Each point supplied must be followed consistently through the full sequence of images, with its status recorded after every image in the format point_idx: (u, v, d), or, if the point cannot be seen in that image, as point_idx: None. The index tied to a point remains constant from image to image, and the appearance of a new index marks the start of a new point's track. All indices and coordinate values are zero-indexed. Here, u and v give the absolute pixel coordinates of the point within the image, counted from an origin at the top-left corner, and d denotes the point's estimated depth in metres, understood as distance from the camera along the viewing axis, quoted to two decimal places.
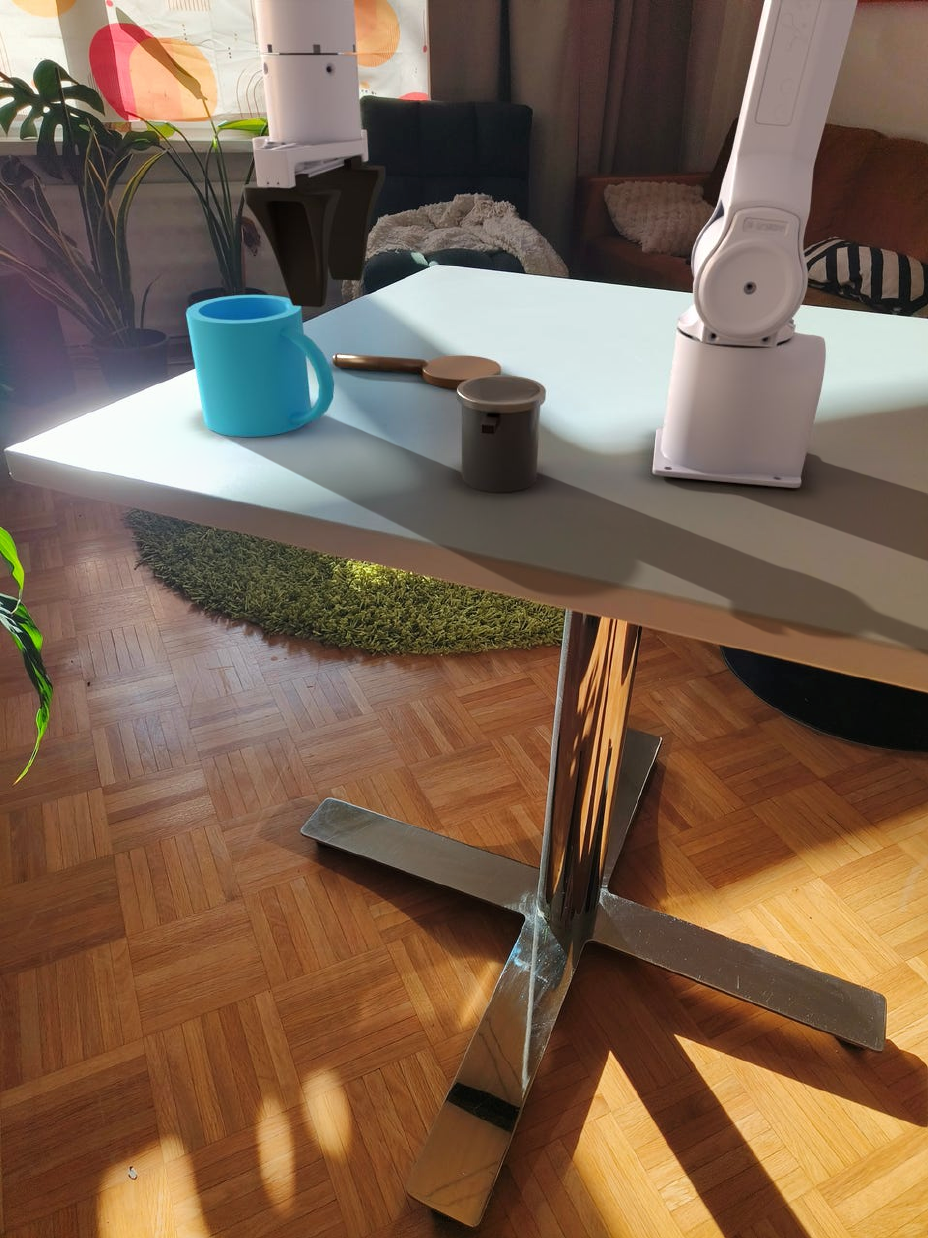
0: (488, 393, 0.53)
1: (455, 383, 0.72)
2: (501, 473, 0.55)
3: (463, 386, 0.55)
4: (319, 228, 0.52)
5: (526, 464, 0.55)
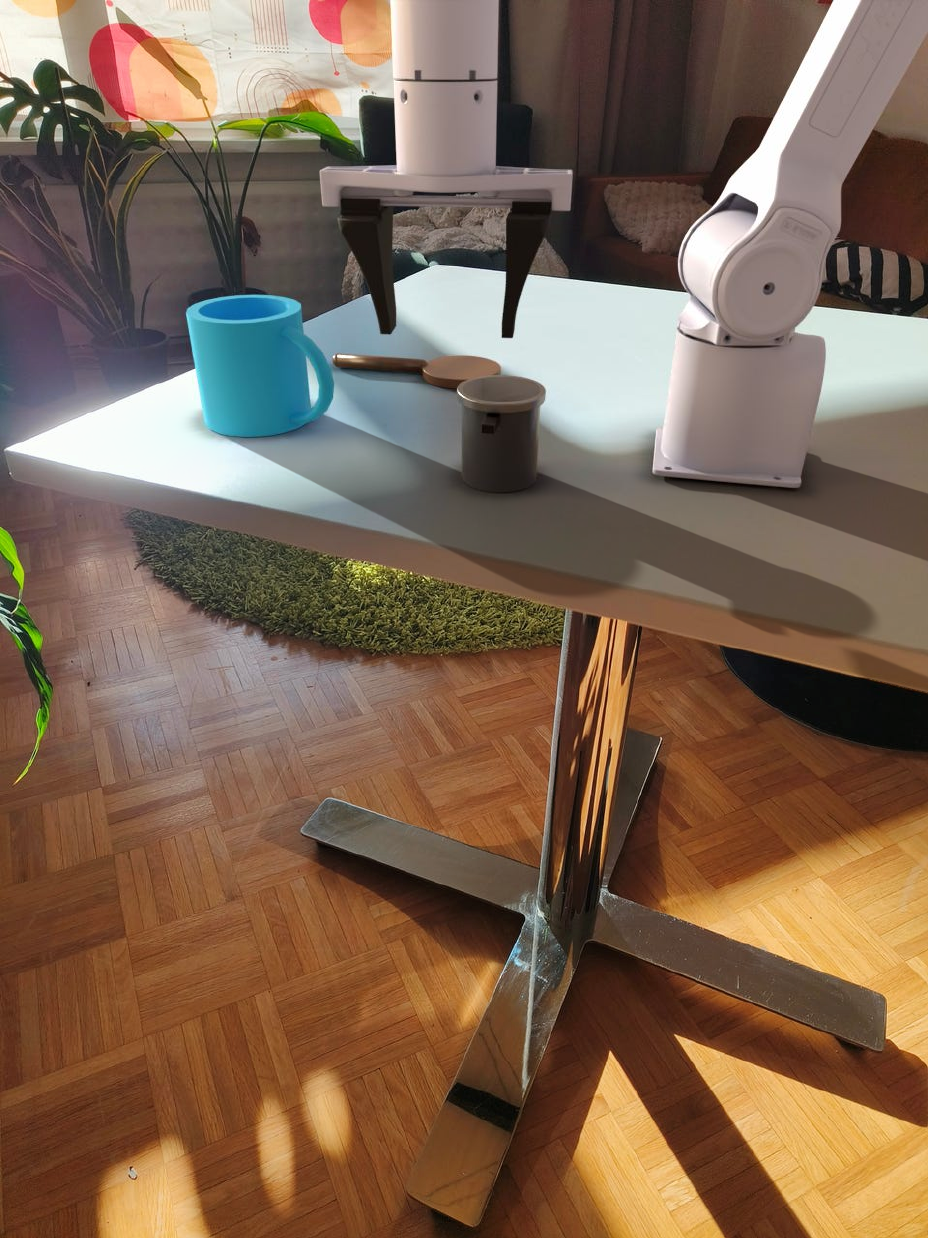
0: (488, 393, 0.53)
1: (455, 383, 0.72)
2: (501, 473, 0.55)
3: (463, 386, 0.55)
4: (353, 253, 0.51)
5: (526, 464, 0.55)
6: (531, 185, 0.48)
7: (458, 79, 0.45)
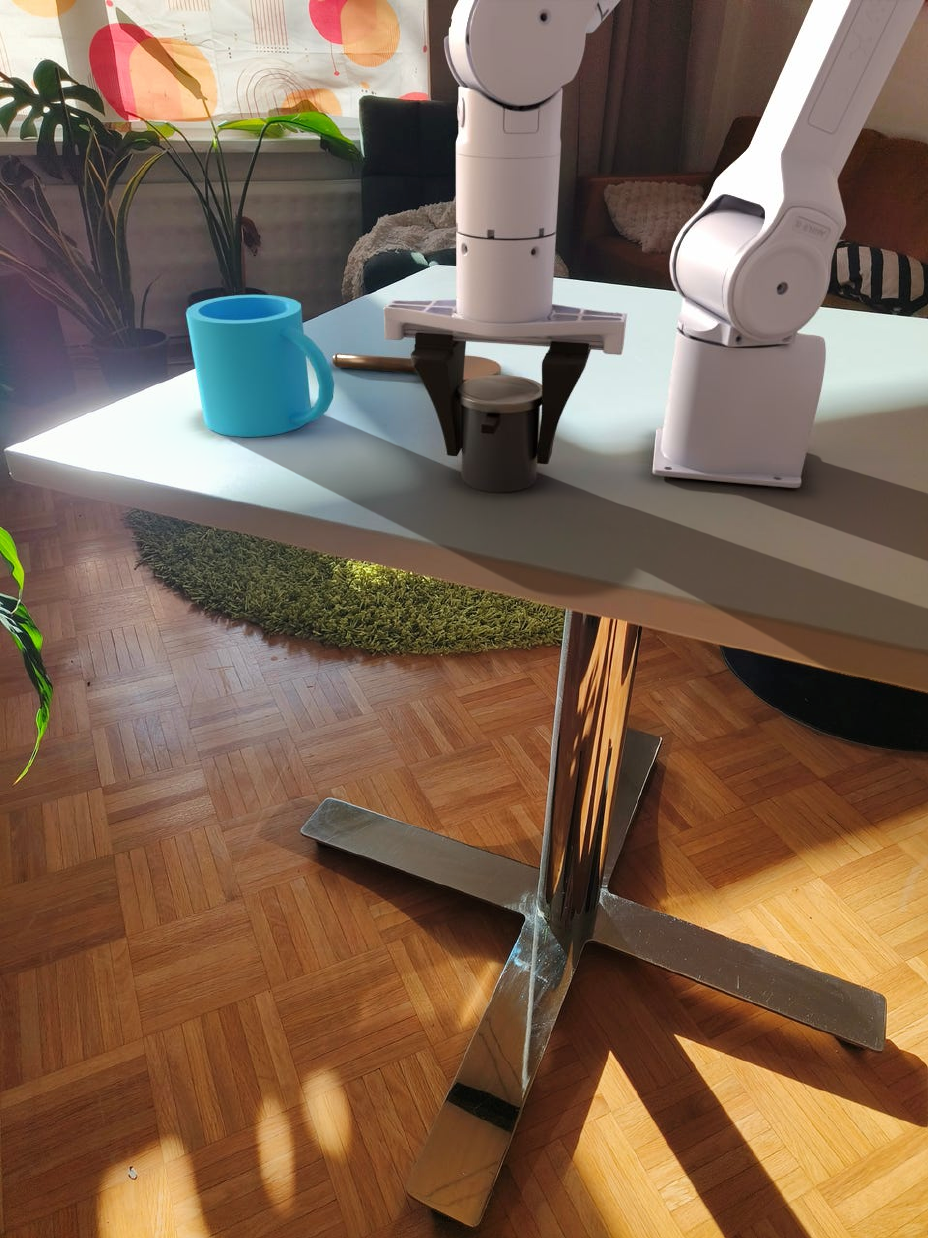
0: (488, 393, 0.53)
1: None
2: (501, 473, 0.55)
3: (463, 386, 0.55)
4: (424, 384, 0.53)
5: (526, 464, 0.55)
6: (584, 331, 0.50)
7: (516, 238, 0.47)
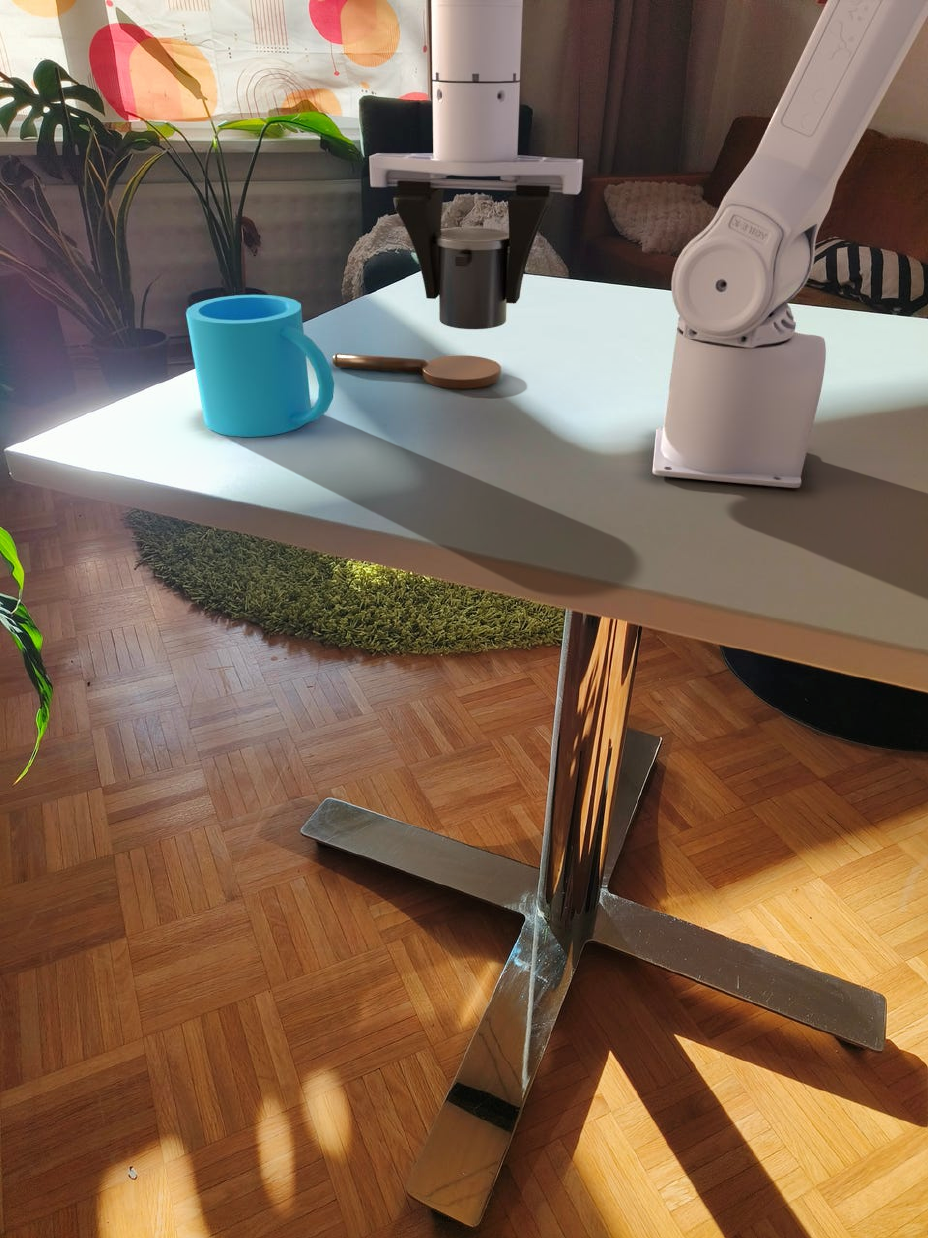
0: (462, 236, 0.60)
1: (455, 383, 0.72)
2: (474, 310, 0.62)
3: (439, 232, 0.61)
4: (405, 227, 0.60)
5: (496, 302, 0.62)
6: (545, 171, 0.57)
7: (483, 81, 0.54)
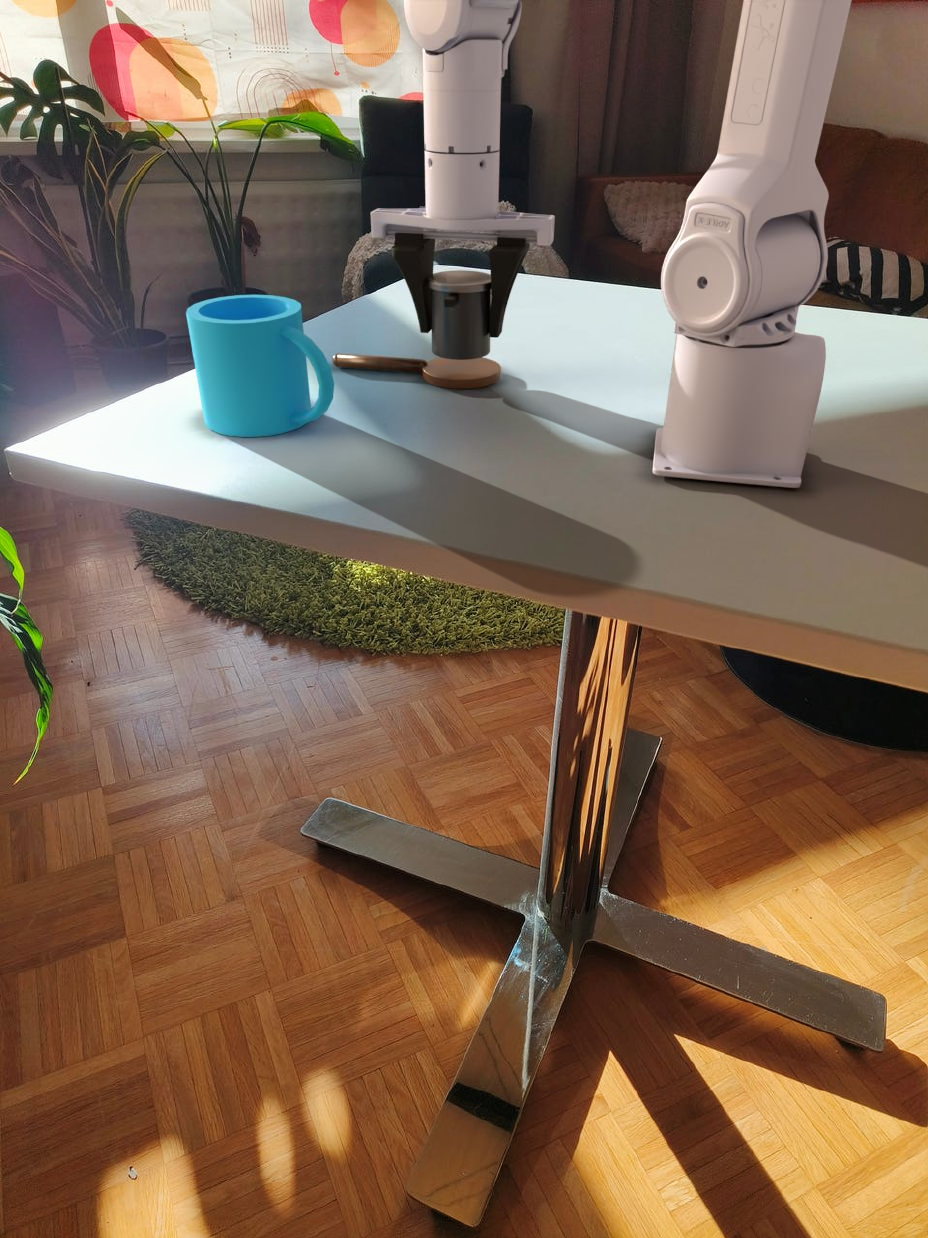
0: (451, 279, 0.70)
1: (455, 383, 0.72)
2: (461, 343, 0.71)
3: (431, 276, 0.71)
4: (402, 272, 0.70)
5: (480, 336, 0.71)
6: (521, 227, 0.66)
7: (467, 152, 0.63)
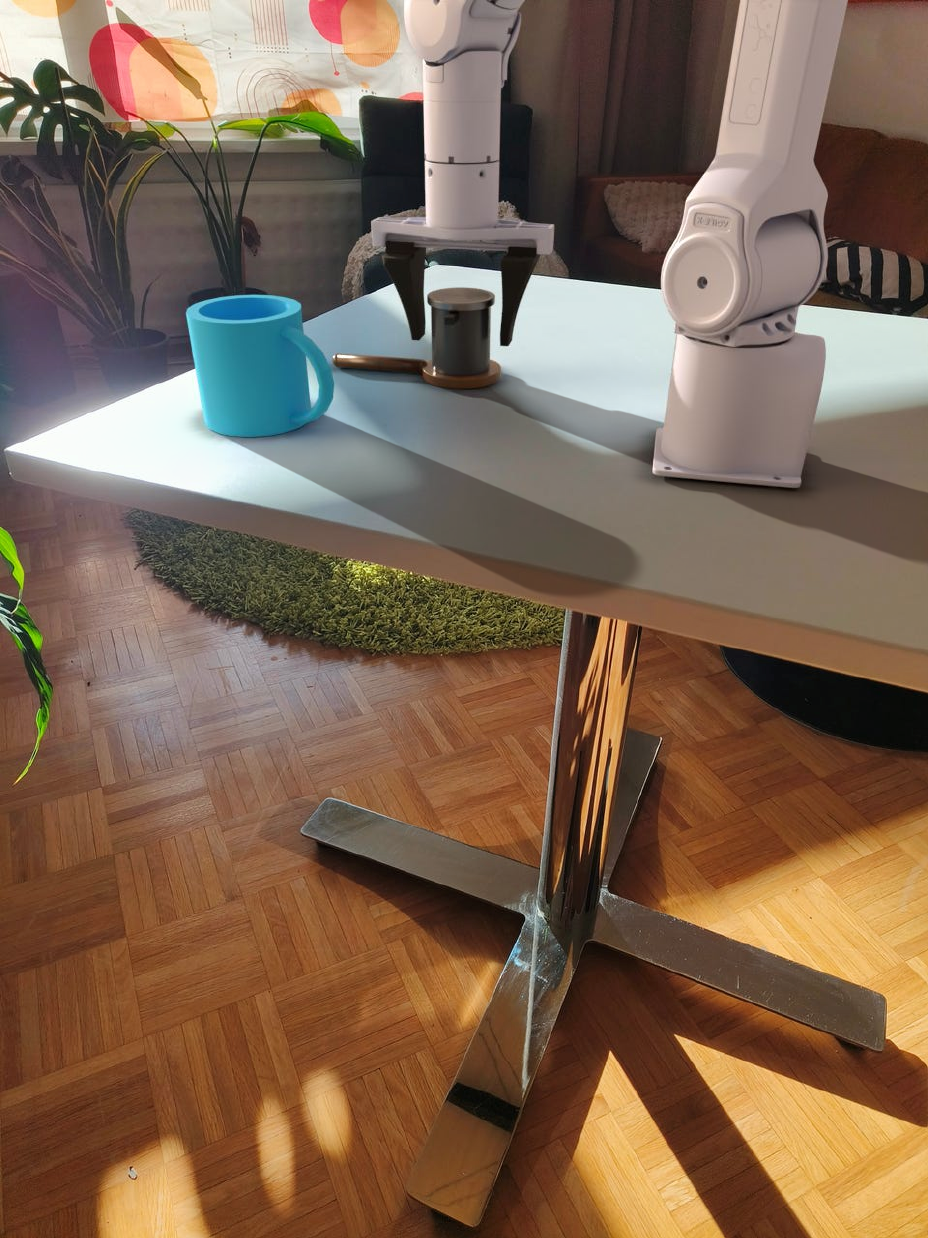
0: (451, 297, 0.70)
1: (455, 383, 0.72)
2: (461, 360, 0.72)
3: (432, 293, 0.72)
4: (393, 281, 0.70)
5: (480, 353, 0.72)
6: (521, 236, 0.66)
7: (467, 162, 0.63)
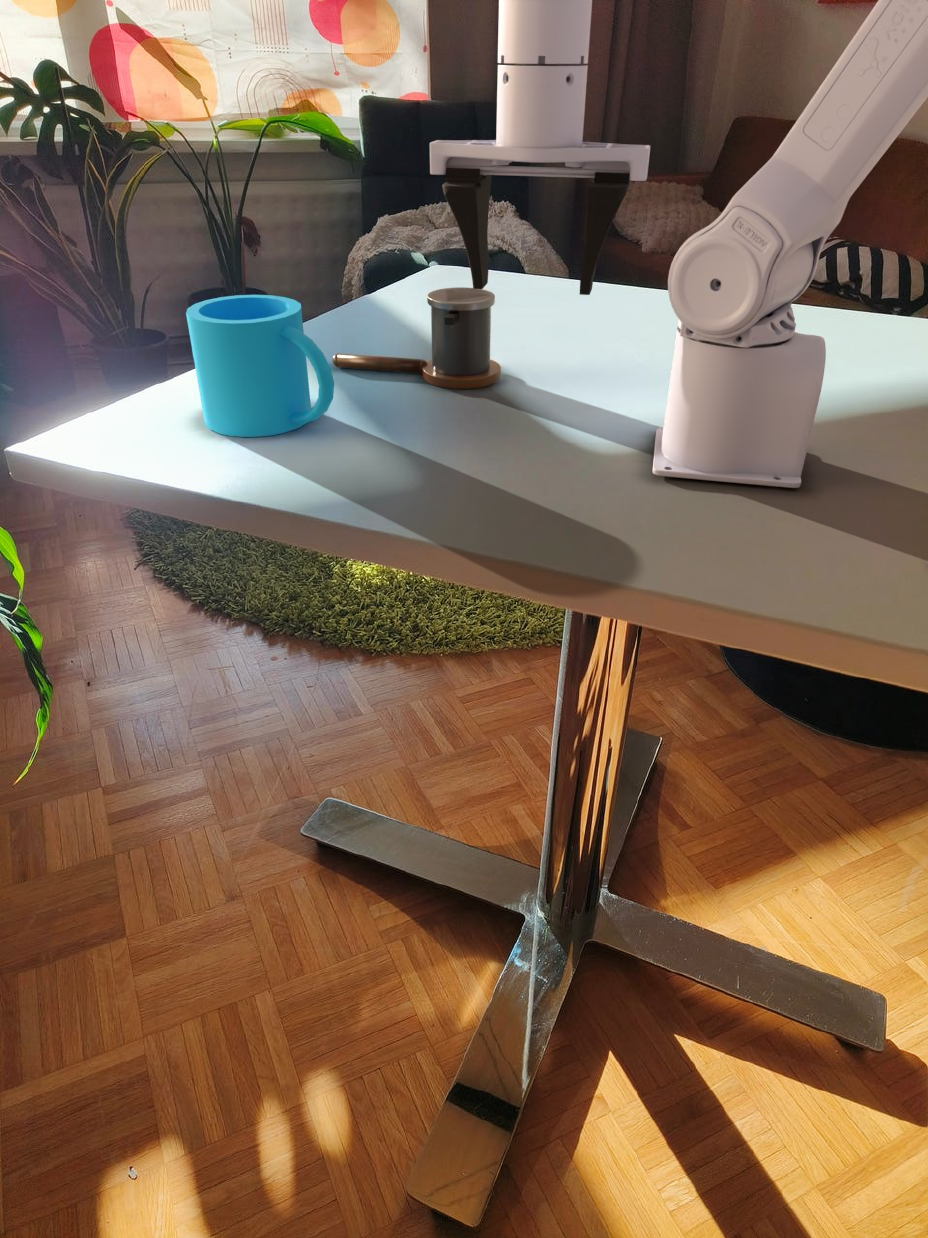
0: (451, 297, 0.70)
1: (455, 383, 0.72)
2: (461, 360, 0.72)
3: (432, 293, 0.72)
4: (454, 215, 0.59)
5: (480, 353, 0.72)
6: (612, 157, 0.55)
7: (553, 63, 0.52)
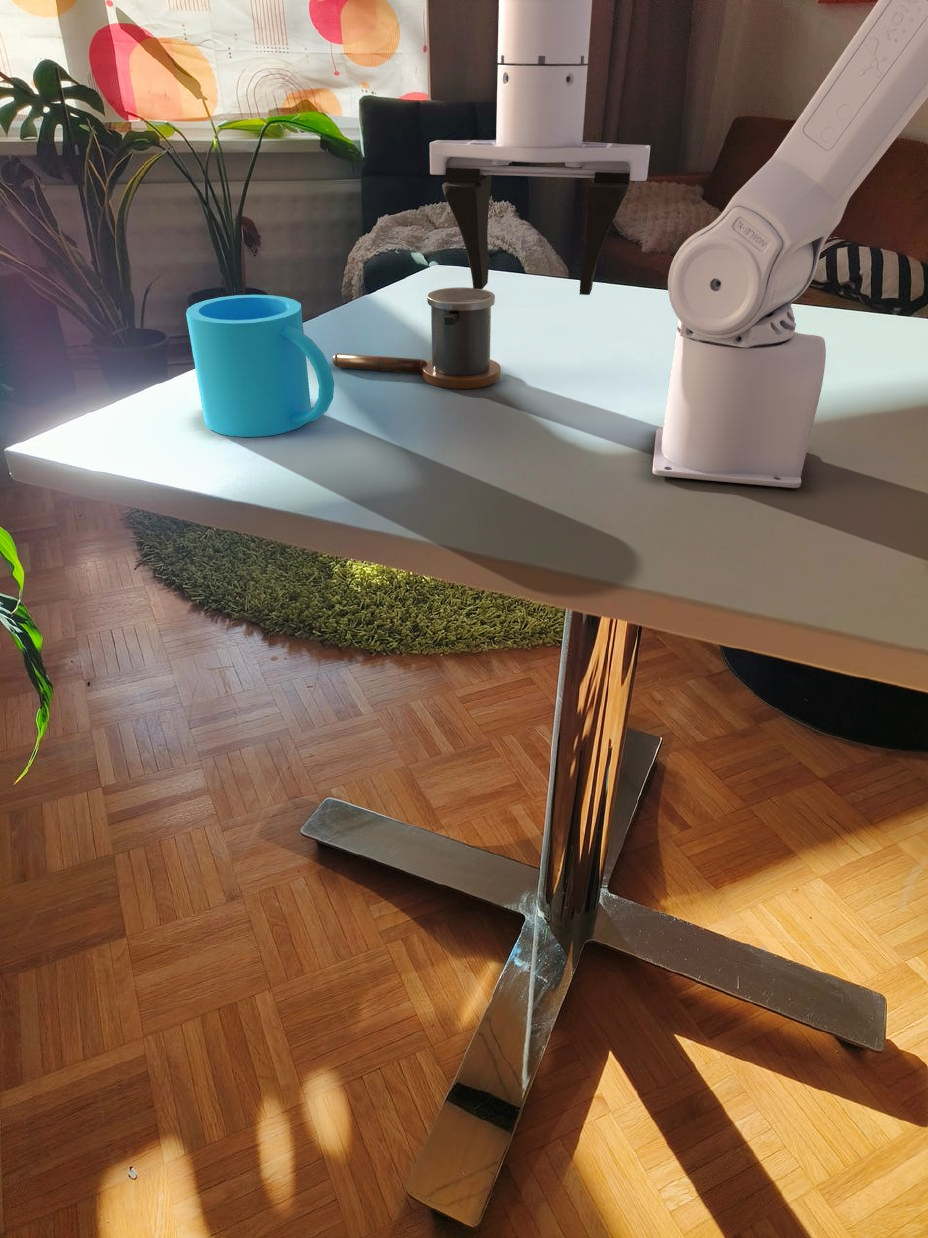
0: (451, 297, 0.70)
1: (455, 383, 0.72)
2: (461, 360, 0.72)
3: (432, 293, 0.72)
4: (454, 215, 0.59)
5: (480, 353, 0.72)
6: (612, 157, 0.55)
7: (553, 63, 0.52)
